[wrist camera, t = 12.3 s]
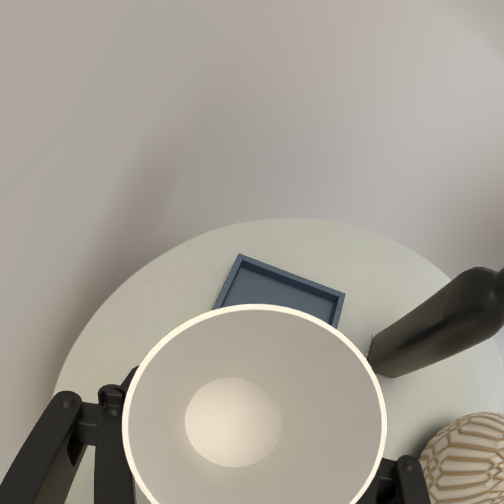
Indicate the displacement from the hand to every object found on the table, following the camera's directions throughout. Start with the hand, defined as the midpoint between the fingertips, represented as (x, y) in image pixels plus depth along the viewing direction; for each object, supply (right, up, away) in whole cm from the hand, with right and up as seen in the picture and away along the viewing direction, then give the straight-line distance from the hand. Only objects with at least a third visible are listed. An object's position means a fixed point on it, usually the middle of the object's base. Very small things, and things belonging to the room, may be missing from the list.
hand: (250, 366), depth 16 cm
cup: (-1, -6, +3) cm, 6 cm away
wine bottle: (+19, -8, +22) cm, 30 cm away
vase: (+28, -25, +12) cm, 40 cm away
